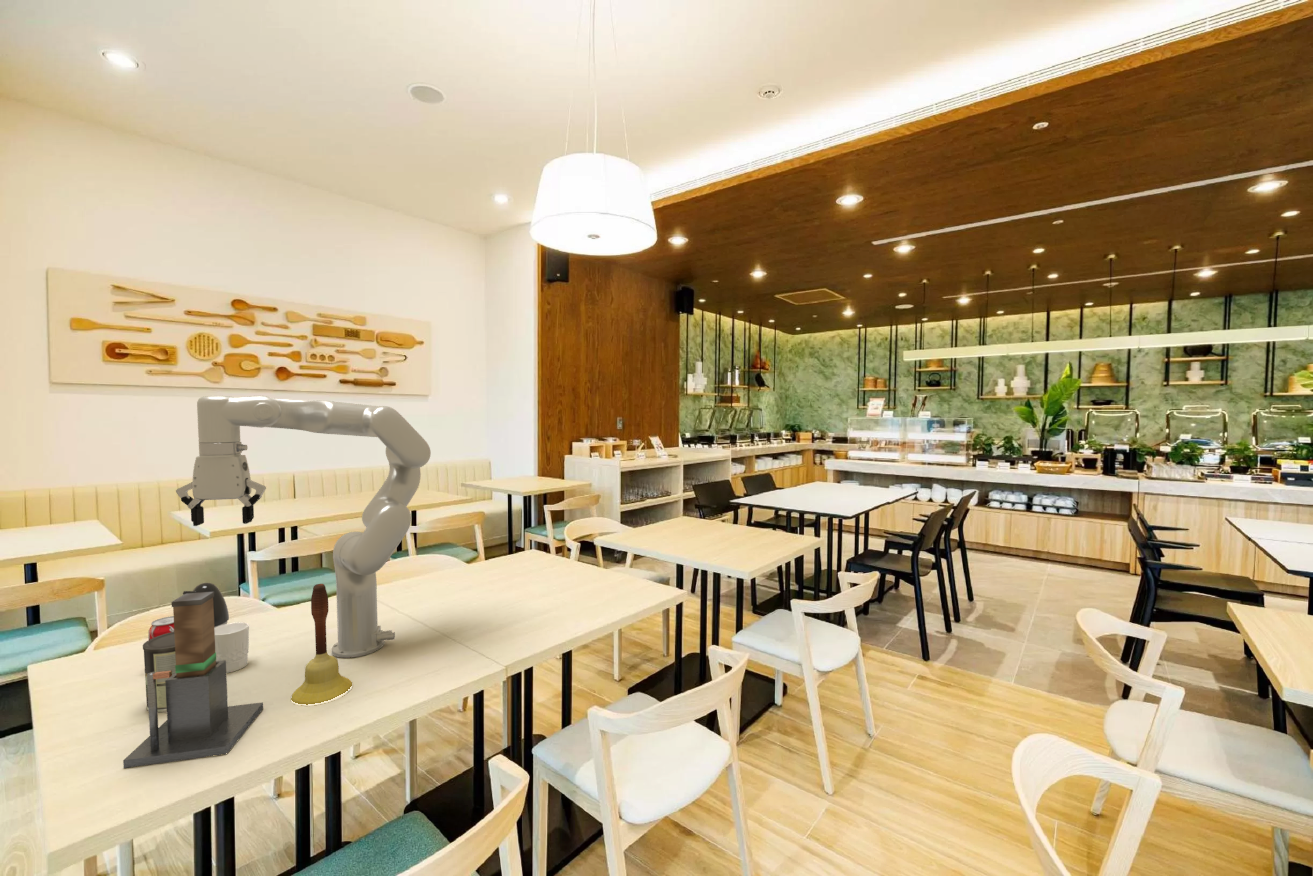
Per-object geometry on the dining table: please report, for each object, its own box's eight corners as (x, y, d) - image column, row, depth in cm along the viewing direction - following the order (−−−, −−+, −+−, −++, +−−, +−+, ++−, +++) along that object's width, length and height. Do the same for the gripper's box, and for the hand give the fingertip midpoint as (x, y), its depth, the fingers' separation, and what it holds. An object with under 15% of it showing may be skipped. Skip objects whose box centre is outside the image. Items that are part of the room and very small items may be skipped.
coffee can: (132, 712, 118) (128, 648, 117) (175, 688, 128) (173, 628, 127) (179, 713, 117) (176, 649, 117) (218, 688, 128) (216, 629, 127)
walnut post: (218, 683, 112) (214, 591, 111) (205, 695, 107) (201, 599, 106) (190, 686, 111) (185, 593, 110) (176, 698, 106) (171, 601, 105)
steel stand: (263, 709, 119) (260, 636, 118) (226, 754, 104) (223, 671, 103) (175, 719, 115) (171, 645, 114) (123, 768, 100) (119, 682, 99)
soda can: (165, 675, 134) (162, 627, 133) (142, 672, 135) (139, 624, 135) (194, 662, 141) (192, 616, 140) (172, 659, 142) (170, 614, 142)
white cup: (257, 663, 140) (255, 625, 140) (222, 677, 133) (220, 637, 132) (239, 657, 143) (237, 620, 143) (203, 670, 136) (202, 631, 136)
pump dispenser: (174, 639, 154) (171, 586, 153) (215, 626, 164) (212, 575, 163) (197, 645, 151) (194, 591, 150) (237, 631, 160) (235, 579, 159)
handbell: (297, 684, 130) (293, 580, 129) (356, 674, 135) (353, 574, 133) (284, 710, 119) (280, 597, 117) (349, 699, 123) (345, 590, 122)
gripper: (270, 448, 132) (272, 518, 133) (184, 449, 128) (188, 522, 129) (256, 450, 125) (259, 525, 126) (165, 452, 121) (169, 529, 122)
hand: (223, 523), depth 127 cm, fingers open, 9 cm apart
